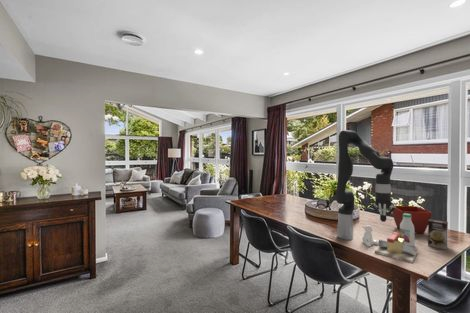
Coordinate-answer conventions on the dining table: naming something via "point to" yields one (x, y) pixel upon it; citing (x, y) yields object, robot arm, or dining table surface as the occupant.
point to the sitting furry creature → (368, 237)
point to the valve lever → (393, 237)
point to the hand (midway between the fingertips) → (383, 221)
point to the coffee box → (437, 233)
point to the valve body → (397, 247)
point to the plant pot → (413, 217)
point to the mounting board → (396, 255)
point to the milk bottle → (407, 230)
